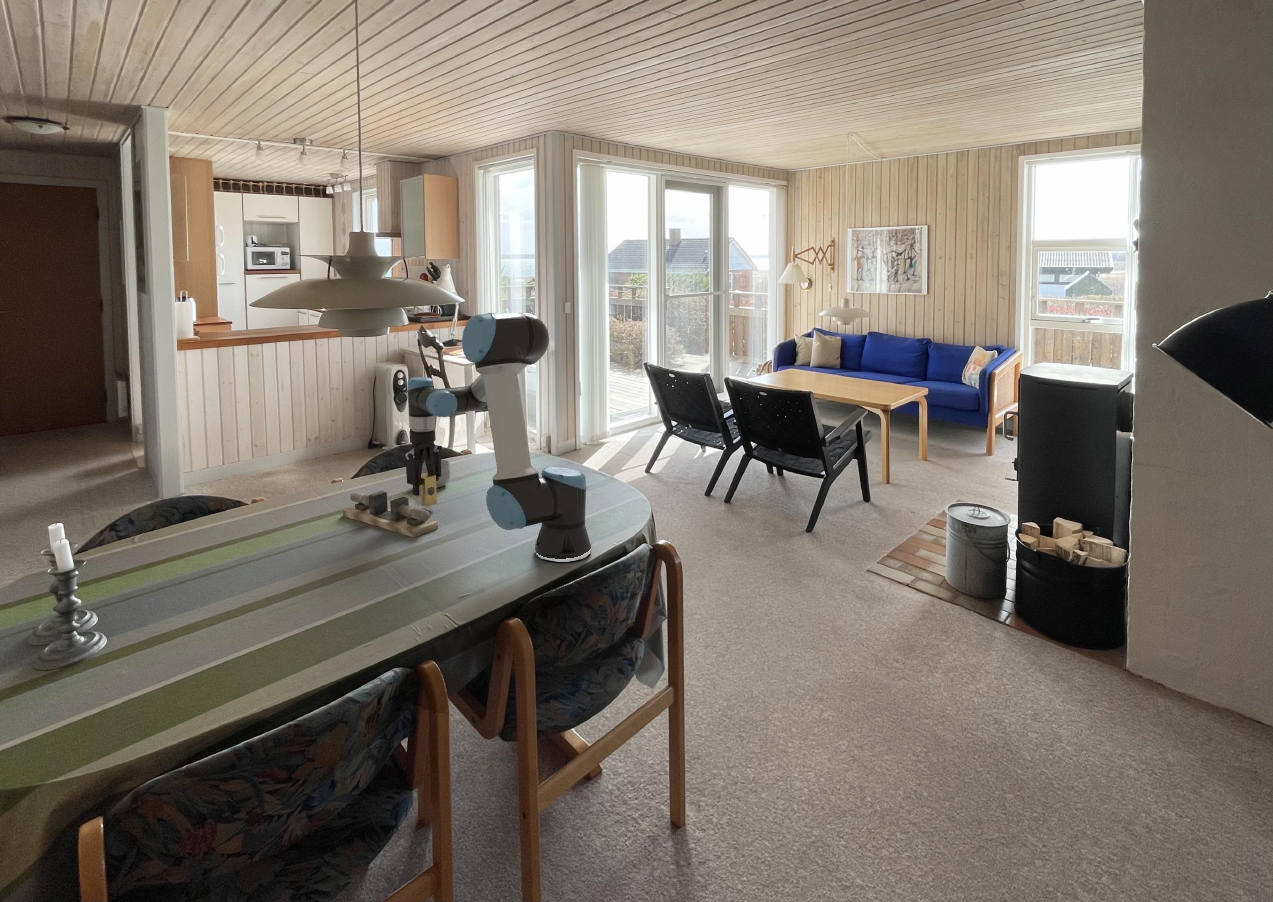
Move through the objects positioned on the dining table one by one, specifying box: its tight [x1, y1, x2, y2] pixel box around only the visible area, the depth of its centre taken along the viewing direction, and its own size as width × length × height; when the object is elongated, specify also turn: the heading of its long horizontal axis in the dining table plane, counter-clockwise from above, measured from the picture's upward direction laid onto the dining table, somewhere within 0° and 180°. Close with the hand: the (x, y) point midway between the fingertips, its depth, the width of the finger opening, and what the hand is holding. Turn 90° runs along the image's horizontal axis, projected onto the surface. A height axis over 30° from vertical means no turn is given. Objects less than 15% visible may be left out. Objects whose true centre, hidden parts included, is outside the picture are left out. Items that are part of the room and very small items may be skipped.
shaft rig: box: [342, 490, 439, 538], centre depth 220 cm, size 30×9×8 cm, turn 59°
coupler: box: [420, 473, 438, 508], centre depth 231 cm, size 5×4×9 cm
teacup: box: [422, 459, 451, 488], centre depth 258 cm, size 14×11×8 cm
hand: (425, 502), depth 232 cm, fingers closed on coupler, 4 cm apart
